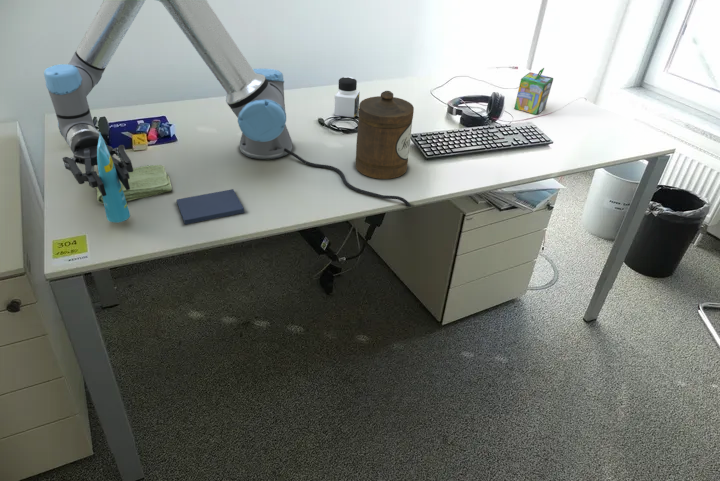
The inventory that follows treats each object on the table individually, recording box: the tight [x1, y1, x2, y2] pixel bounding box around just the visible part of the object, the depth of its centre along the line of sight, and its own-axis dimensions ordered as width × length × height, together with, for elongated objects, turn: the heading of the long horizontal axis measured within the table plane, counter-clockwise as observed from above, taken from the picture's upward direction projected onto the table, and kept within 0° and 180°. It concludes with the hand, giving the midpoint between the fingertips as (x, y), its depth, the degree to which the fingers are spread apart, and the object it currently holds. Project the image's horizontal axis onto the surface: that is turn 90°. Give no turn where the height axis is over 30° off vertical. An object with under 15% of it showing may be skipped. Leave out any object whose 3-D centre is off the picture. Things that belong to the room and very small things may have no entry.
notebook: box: [175, 188, 245, 225], centre depth 126 cm, size 14×10×1 cm
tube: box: [97, 132, 131, 224], centre depth 113 cm, size 7×5×19 cm, turn 26°
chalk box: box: [513, 67, 554, 116], centre depth 187 cm, size 9×9×15 cm
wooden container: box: [355, 90, 415, 180], centre depth 142 cm, size 15×15×22 cm
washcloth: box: [94, 164, 173, 205], centre depth 131 cm, size 13×18×3 cm
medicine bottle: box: [333, 76, 360, 119], centre depth 176 cm, size 7×7×12 cm
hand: (115, 187), depth 109 cm, fingers closed on tube, 4 cm apart
